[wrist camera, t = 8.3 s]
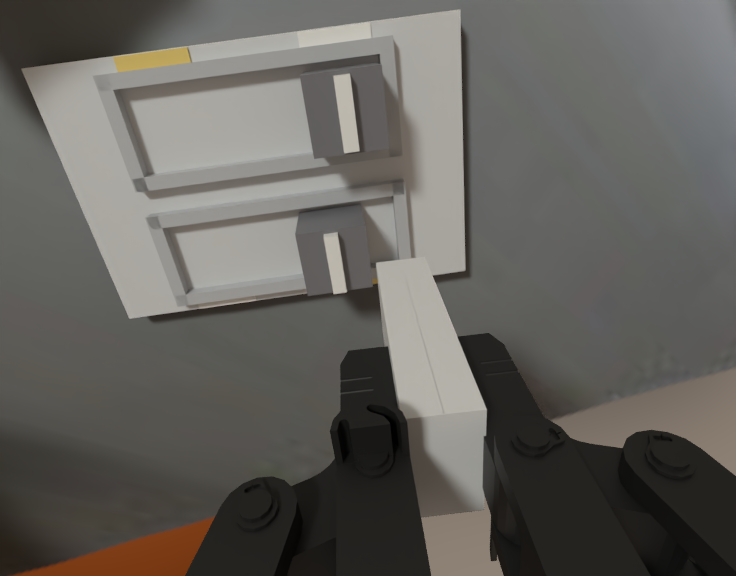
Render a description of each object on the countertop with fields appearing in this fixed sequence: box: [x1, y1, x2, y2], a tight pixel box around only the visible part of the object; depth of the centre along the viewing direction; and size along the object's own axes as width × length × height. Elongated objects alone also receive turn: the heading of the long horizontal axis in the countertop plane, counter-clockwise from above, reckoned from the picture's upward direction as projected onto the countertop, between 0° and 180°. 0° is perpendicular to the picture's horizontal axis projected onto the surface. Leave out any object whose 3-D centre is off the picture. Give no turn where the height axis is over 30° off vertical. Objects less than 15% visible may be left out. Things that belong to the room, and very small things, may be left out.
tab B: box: [300, 62, 390, 159], centre depth 24 cm, size 4×4×5 cm
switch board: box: [21, 9, 465, 319], centre depth 29 cm, size 24×16×2 cm, turn 97°
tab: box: [295, 204, 373, 296], centre depth 28 cm, size 4×4×5 cm
